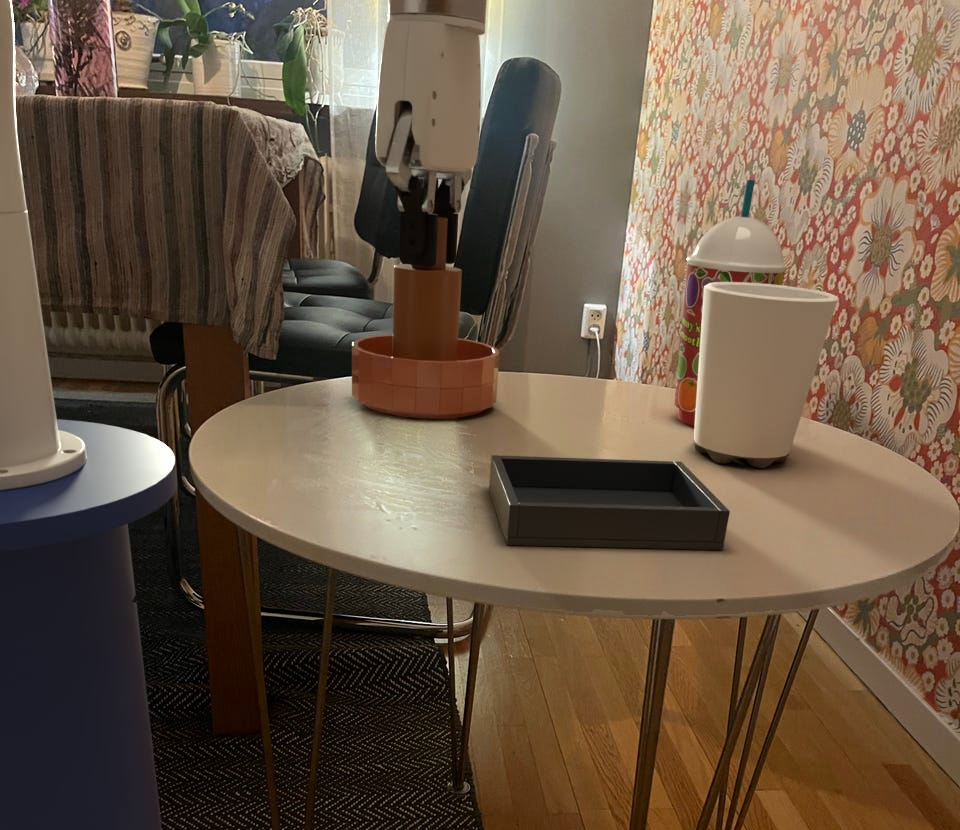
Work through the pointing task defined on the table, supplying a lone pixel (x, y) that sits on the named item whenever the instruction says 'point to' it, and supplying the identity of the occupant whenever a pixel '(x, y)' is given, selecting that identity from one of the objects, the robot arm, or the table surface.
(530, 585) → the table surface
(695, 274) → the smoothie
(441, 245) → the bottle
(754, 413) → the cup
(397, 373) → the bowl
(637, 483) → the tray
